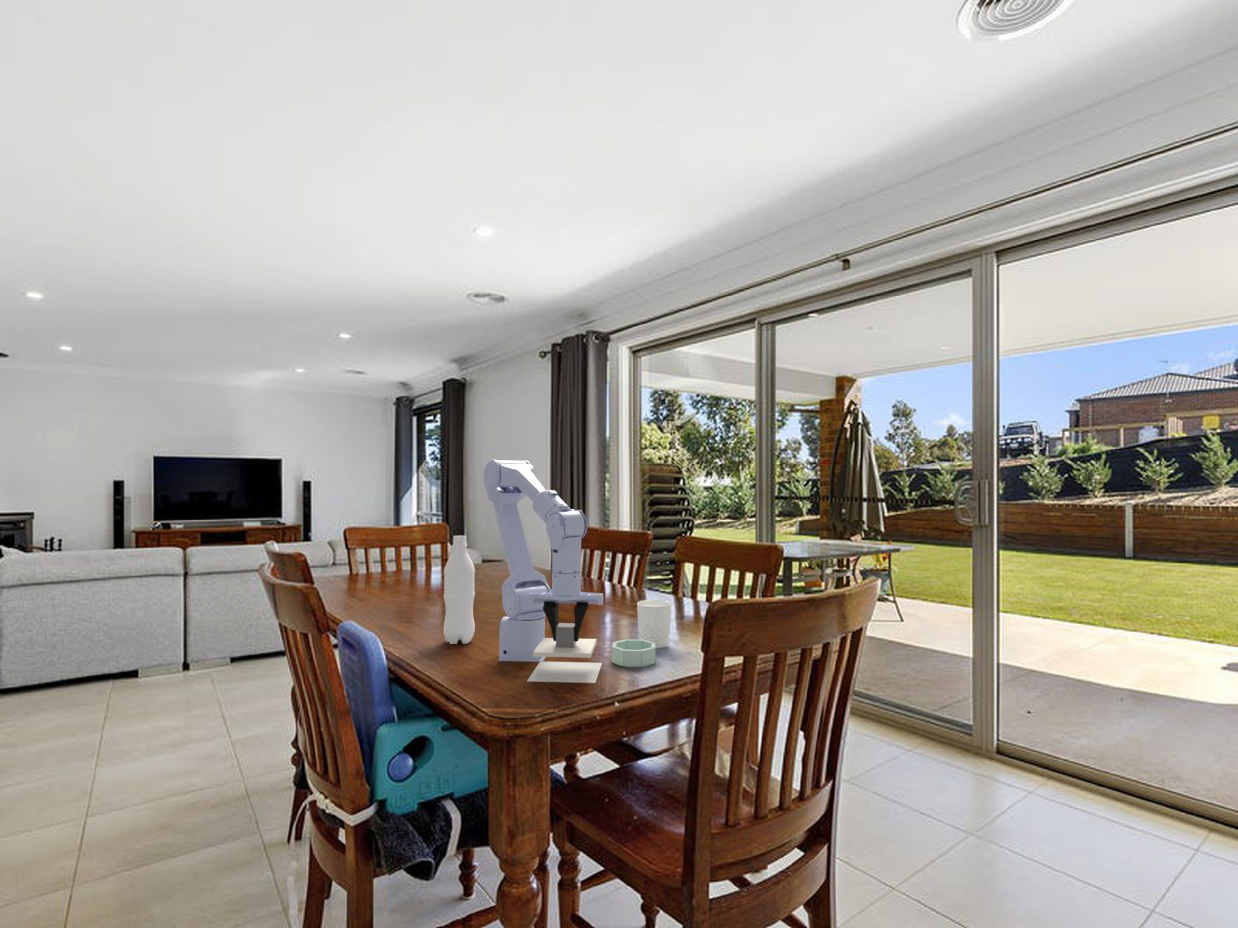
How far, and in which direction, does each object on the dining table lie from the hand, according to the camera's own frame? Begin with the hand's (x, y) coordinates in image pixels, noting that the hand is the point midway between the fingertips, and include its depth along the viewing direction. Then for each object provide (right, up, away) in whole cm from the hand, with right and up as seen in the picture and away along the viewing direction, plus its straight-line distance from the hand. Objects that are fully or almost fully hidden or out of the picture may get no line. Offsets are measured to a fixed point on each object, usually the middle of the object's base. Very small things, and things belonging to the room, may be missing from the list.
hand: (566, 640), depth 129 cm
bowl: (+14, -7, +7) cm, 17 cm away
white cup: (+19, -7, +21) cm, 29 cm away
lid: (0, -2, 0) cm, 2 cm away
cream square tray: (0, -7, 0) cm, 7 cm away
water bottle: (-27, -7, +24) cm, 37 cm away
